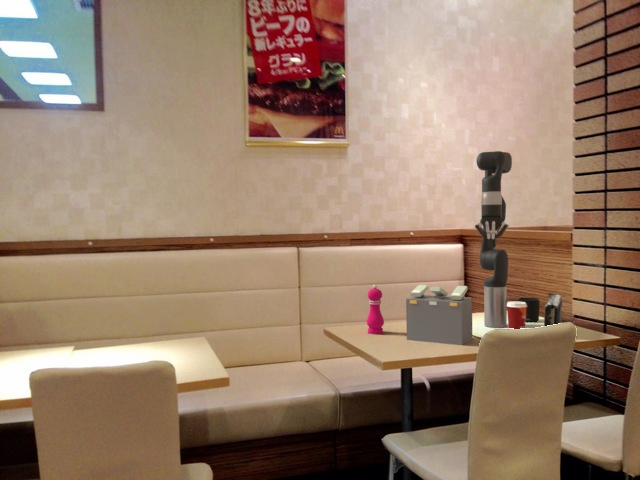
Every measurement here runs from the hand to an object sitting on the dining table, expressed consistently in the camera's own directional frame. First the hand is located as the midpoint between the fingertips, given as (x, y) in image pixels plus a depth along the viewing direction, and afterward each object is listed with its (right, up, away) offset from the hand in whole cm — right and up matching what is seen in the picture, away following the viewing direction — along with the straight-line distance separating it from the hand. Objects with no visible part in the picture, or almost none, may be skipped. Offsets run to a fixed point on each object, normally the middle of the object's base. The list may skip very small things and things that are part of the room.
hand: (491, 248), depth 222 cm
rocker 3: (-13, -17, -2) cm, 21 cm away
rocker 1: (-27, -17, +6) cm, 32 cm away
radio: (+28, -35, +10) cm, 45 cm away
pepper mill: (-43, -35, +18) cm, 59 cm away
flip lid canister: (+10, -35, +1) cm, 36 cm away
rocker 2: (-20, -17, +2) cm, 26 cm away
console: (-20, -35, +3) cm, 40 cm away
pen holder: (+28, -33, +37) cm, 57 cm away
